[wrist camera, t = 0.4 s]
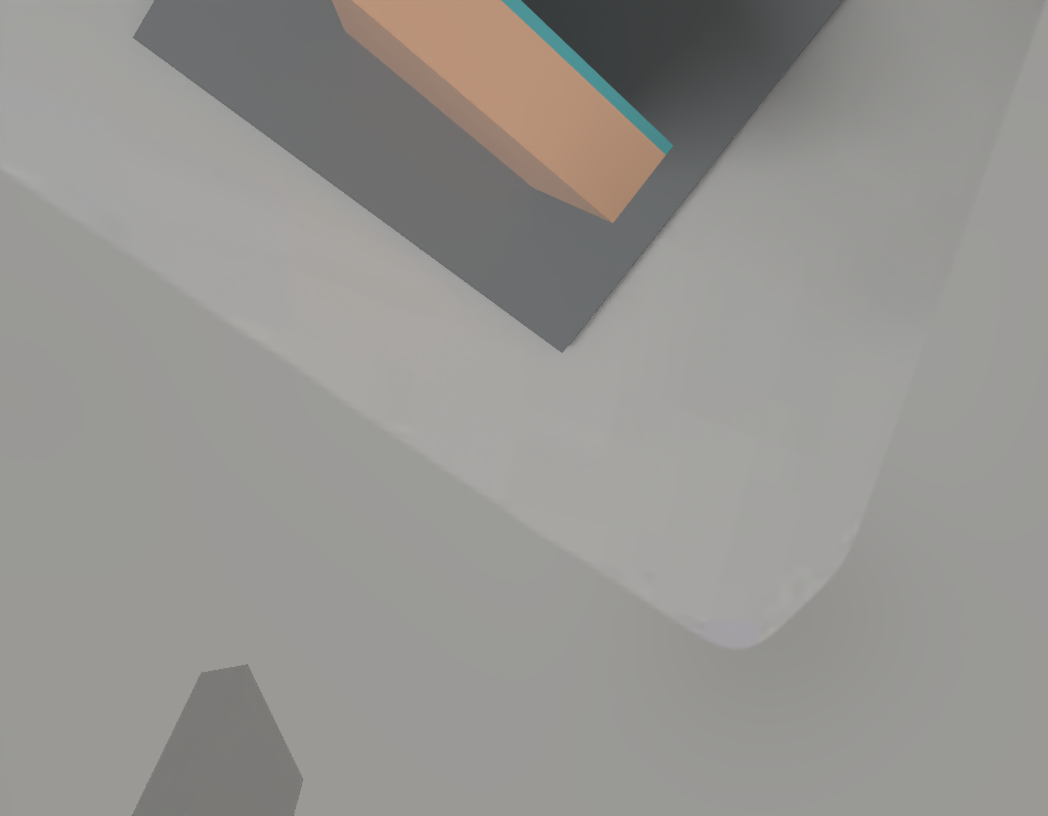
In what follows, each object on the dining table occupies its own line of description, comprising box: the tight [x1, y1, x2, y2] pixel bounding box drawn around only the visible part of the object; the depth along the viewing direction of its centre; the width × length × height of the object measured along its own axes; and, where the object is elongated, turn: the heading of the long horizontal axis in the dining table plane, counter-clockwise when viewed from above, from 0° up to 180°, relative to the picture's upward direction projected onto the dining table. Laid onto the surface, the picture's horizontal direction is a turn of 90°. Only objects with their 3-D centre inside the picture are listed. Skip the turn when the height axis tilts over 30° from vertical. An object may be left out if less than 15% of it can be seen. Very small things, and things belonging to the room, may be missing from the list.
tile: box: [332, 0, 673, 223], centre depth 22 cm, size 2×9×11 cm, turn 51°
